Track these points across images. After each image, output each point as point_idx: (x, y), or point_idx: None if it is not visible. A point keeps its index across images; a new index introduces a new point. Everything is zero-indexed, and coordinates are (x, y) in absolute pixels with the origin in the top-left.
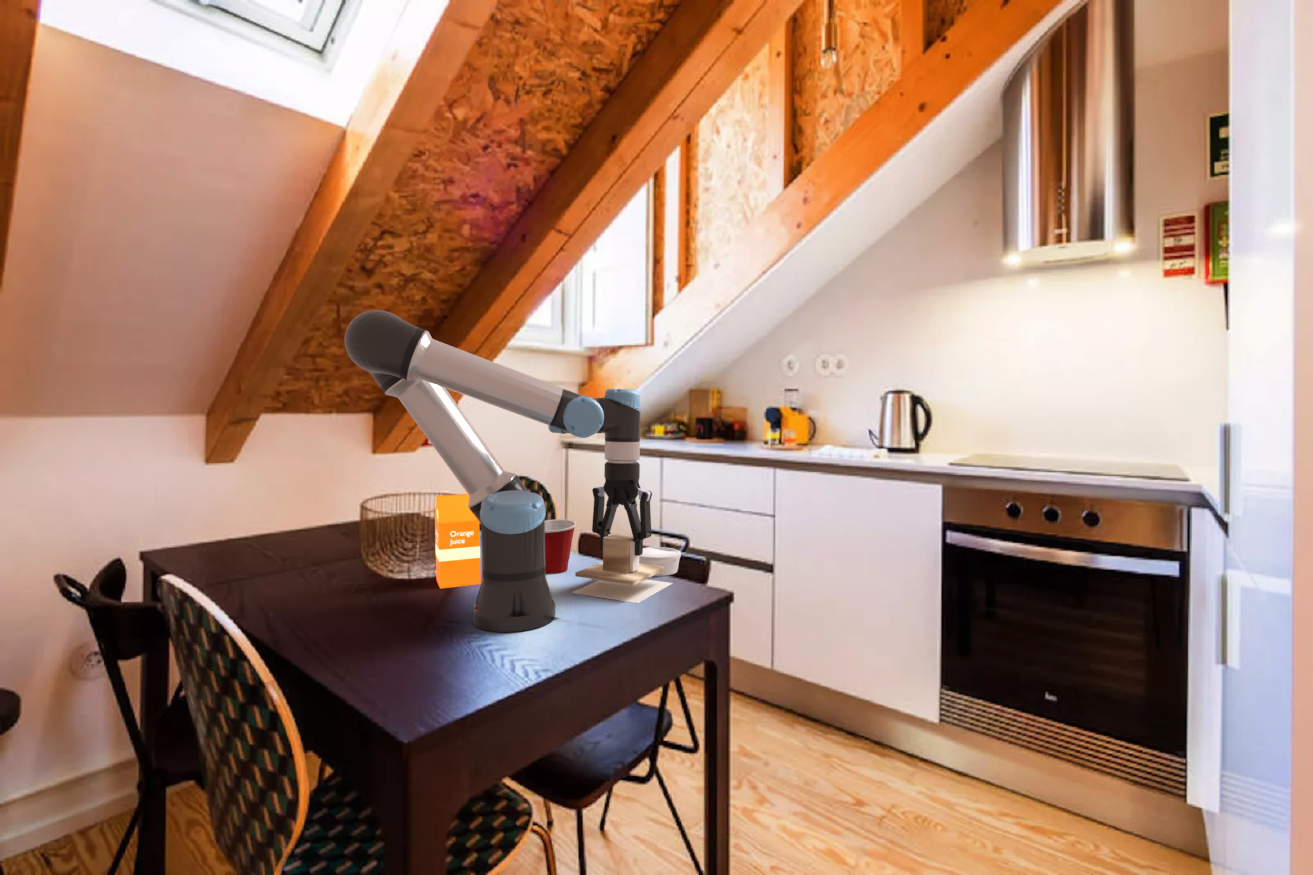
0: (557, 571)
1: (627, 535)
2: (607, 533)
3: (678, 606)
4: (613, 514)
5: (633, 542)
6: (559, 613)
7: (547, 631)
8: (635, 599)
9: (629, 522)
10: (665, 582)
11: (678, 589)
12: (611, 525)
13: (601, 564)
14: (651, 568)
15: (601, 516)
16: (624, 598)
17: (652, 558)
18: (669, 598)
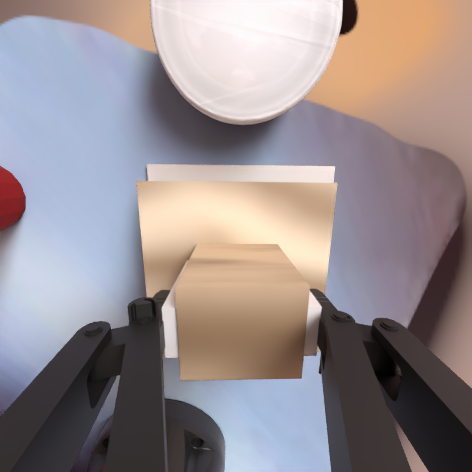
0: (13, 220)
1: (247, 290)
2: (160, 335)
3: (389, 294)
4: (164, 436)
5: (314, 350)
6: (208, 404)
7: (241, 460)
8: None
9: (329, 440)
10: (315, 169)
11: (354, 188)
12: (160, 349)
13: (157, 256)
14: (309, 223)
15: (67, 416)
16: None
17: (268, 118)
18: (356, 257)
